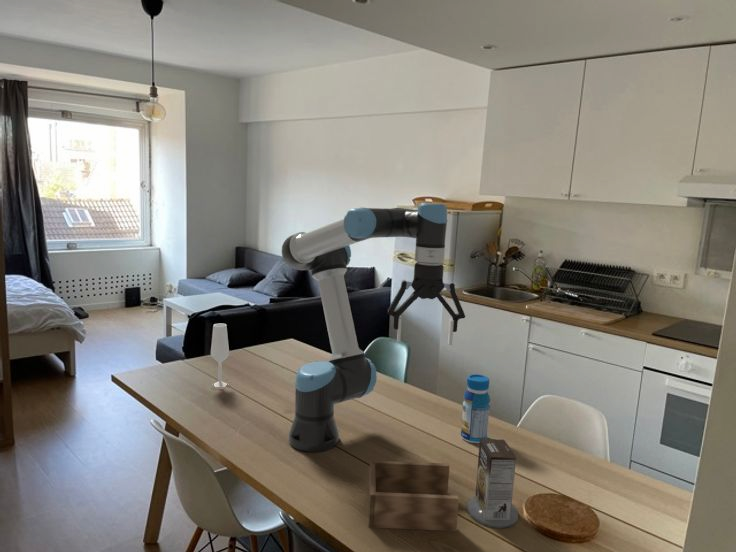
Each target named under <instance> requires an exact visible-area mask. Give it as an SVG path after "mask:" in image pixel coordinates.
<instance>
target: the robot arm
mask: <svg viewBox="0 0 736 552" xmlns="http://www.w3.org/2000/svg"><path fill="white" fill-rule="evenodd" d="M447 223H448V208H447V205H446V204H445V203H435V202H434V203H433V202H420V203H419V204H418V205H417V209H411V208H405V207H404V208H403V207H392V208H379V207H378V208H375V207H372V208H371V207H362V206H361V207H358V208H351V209H349V210H348V211H347V213H346V214H345V215H344V217H342V218H339V219H337V220H334V221H332V222H329V223H328V224H325V225H323V226H320V227H317V228H316V229H313V230H311V231H308V232H305V231H300V232H297V233H294V234H292V235H289V236H288V237H286V239H285V240H284V242H283V243H282V246H281V256H282V258H283V261H284V262H285V263H286V264H287V265H288V266H289V267H290V268H292V269H295V270H298V271H310V272H311V278H313V279H314V280H315V281H317V283H318V289H319V294H320V299H321V303H322V307H323V308H322V309H323V314H324V318H325V323H326V328H327V329H326V330H327V333H328V338H329V344H330V349H331V356H330V357H329V359H328V361H326V360H325V361H324V360H321V361H313V362H309V363H306V364H303V365H302V366H300V367H299V368H298V370H297V372H296V376H295V382H294V385H295V386H294V387H295V398H294V399H295V402H294V403H295V405H294V410H295V411H294V418H293V421H292V423H291V426H290V429H289V431H288V443H289V445H290V446H291V447H292V448H294V449H296V450H299V451H302V452H309V453H317V452H324V451H328V450H330V449H333V448H334V447H335V446H337V445H338V443H339V438H340V437H339V434H340V433H339V429H338V425H337V423H336V419H335V415H334V413H335V405H337V404H340V403H343V402H348V401H350V400H355V399H360V398H363V397H364V396H366V395H367V396H368V395H369V394H370V393H372V392H373V390H374V388H375V387H376V385H377V384H376V383H377V378H378V376H377V369H376V366H375V364H374V363H373V362H372V361H373V360H371V359H370V358H367V357H366V354H365V351H364V350H361V348H360V347H359V343H358V340H357V339H358V338H357V334H356V329H355V323H354V319H353V315H352V310H351V305H350V300H349V296H348V295H349V294H348V291H347V287H346V281H345V275H346V272H347V271H348V267H347V266H348V265H349V264H350V261H351V257H352V249H351V247H350V246H351V245H354V244H356V243H359V242H360V243H361V242H363V241H366V240H369V239H373V238H374V239H375V238H411V239H415V251H414V252H415V253H414V261H415V262H416V263H415V264H414V269H413V270H414V271H413V278H412V279H413V280H412V281H410V280H406V279H402V280H401V283H400V288H399V290H398V292H397V293H396V295H395V296H394V298H393V300H392V302H391V303H390V305H389V307H388V309H387V315H388V316H391V317H393V329H394V330H396V331H397V333H396V340H397V341H396V342H397V343H401V335H402V320H403V319H402V314H403V313H405V312H406V310H407V309H408V308H409V307H410V306H411V305H412V304H413V303H414V301H416V300H417V299H418V298H420V299H421V300H425V299H428V300H429V299H430V300H434V299H436V298H437V300H438V301H439V302H440V304H441V305H442V306H443V307H444V308H445V310H446V311H447V312H448V314H449V315H450V316H451V318H450V317H449V318H448V331H447V332H448V334H447V343H448V345H449V346H452V345H453V336H454V333H457V331H458V324H459V323H458V322H459V320H461V319H465V318H466V314H465V312H464V309H463V307H462V304H461V302H460V300H459V298H458V296H457V293H456V287H455V286H456V284H454V282H453V281H449V282H444V265H443V263H444V262H445V251H446V249H445V248H446V234H447V227H448V226H447V225H448V224H447ZM410 287H411V288H412V289H413V292H412V293H411V294H410V296H409V297H408V298H406V300H405V301H403V303H402V304H401V305H400V306H399V307H398V305H399V303H400V301H401V299H402V298H403V296H404V295H405V293H406V291H407V290H409V289H410ZM444 288H445V290H446V291H447V292H449V295H450V297H451V299H452V301H453V304H454V306H455V308H456V310H457V311H456V312H457V313H456V312H455V311H454V309H452V307H451V306H450V305H449V303H448V302H447V301H446V299H445V298H444V296H443V295H442V294H441V292H442V291H443V290H444ZM397 307H398V308H397ZM396 308H397V309H396Z"/></svg>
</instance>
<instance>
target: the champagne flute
mask: <svg viewBox="0 0 736 552" xmlns="http://www.w3.org/2000/svg"><path fill="white" fill-rule="evenodd" d="M227 326H228V325H227V324H226V323H214V324H213V326H212V335H211V336H212V337H211V347H210V356H211V357H212V359H213V360H215V361H216V362H217V363H218V365H217V366H218V367H217V369H218V372H217V373H218V377H217V378H218V381H217V382H215V383H213V384H214V386H215V387H225V386H226V385H227V384H228V383H226V382H224V381H222V376H223V375H222V374H223V373H222V367H223V366H222V364H223V361H225V360H226V359H227V358H228V357H229V355H230V349H229V348H230V347H229V339H228V338H229V337H228V328H227Z"/></svg>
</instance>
